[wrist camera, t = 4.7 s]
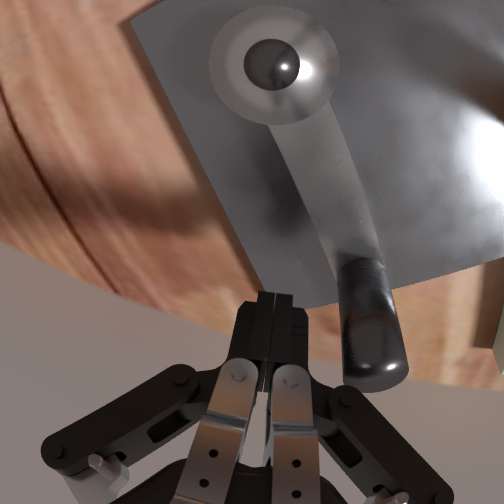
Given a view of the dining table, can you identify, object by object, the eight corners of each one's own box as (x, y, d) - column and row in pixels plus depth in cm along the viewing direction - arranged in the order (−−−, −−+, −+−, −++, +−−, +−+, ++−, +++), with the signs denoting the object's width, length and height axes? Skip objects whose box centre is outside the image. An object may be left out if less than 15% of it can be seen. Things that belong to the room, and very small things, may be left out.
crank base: (144, 23, 11) (129, 21, 10) (512, -52, 4) (526, -56, 3) (279, 297, 20) (277, 314, 19) (556, 221, 13) (568, 233, 12)
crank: (204, 42, 10) (108, 37, 5) (304, -2, 9) (305, -66, 3) (339, 321, 18) (342, 427, 12) (408, 301, 16) (433, 407, 11)
